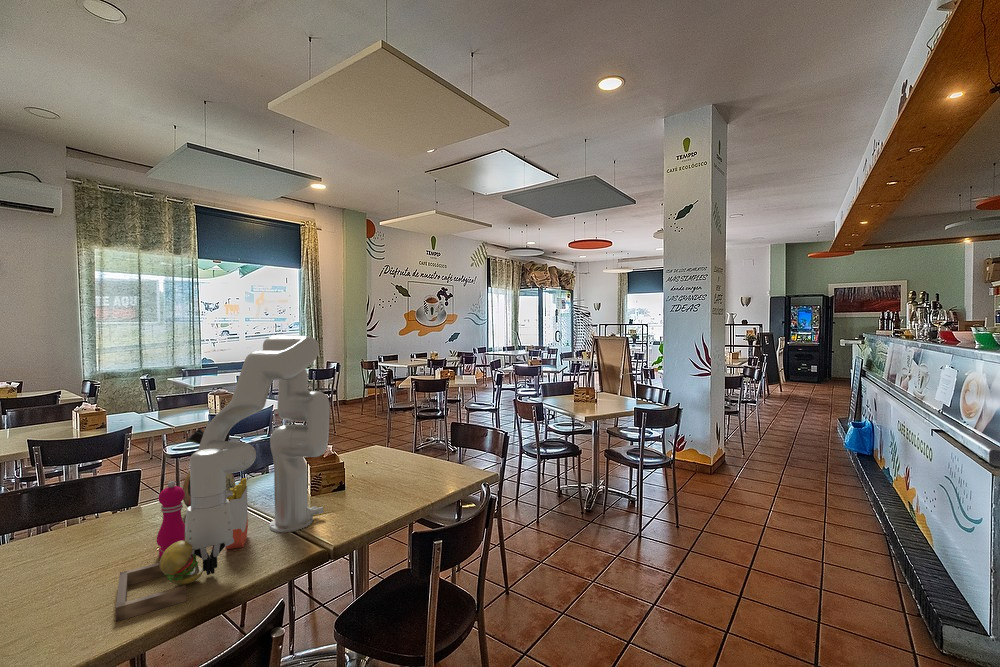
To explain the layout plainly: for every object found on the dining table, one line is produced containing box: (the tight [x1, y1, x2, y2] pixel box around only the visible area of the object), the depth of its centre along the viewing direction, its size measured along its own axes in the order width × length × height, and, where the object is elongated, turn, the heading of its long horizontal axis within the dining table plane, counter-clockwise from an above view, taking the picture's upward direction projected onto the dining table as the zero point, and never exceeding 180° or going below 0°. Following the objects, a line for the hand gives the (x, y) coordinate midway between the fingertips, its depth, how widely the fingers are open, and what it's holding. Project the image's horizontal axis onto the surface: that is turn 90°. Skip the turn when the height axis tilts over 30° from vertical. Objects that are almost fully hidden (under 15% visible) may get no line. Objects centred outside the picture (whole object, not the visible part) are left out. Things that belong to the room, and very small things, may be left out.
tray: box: [115, 562, 187, 622], centre depth 112 cm, size 12×18×3 cm
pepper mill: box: [156, 480, 185, 558], centre depth 131 cm, size 7×7×20 cm
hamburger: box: [159, 540, 204, 586], centre depth 114 cm, size 8×7×12 cm
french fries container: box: [225, 477, 249, 550], centre depth 136 cm, size 5×11×18 cm, turn 19°
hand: (210, 571), depth 119 cm, fingers closed
